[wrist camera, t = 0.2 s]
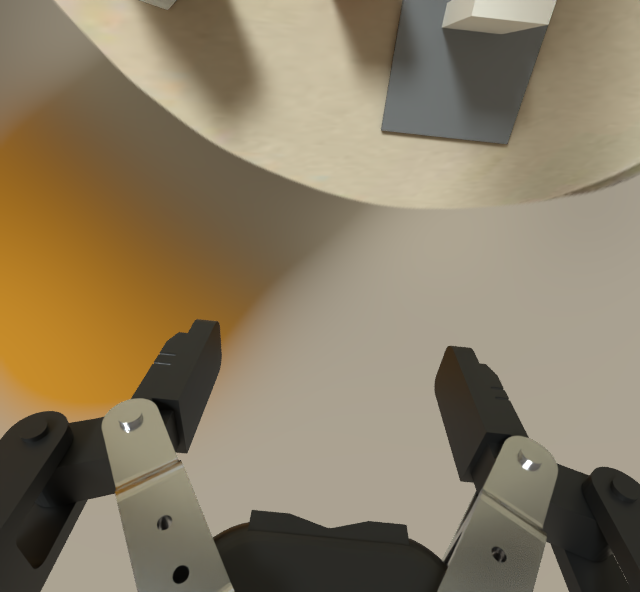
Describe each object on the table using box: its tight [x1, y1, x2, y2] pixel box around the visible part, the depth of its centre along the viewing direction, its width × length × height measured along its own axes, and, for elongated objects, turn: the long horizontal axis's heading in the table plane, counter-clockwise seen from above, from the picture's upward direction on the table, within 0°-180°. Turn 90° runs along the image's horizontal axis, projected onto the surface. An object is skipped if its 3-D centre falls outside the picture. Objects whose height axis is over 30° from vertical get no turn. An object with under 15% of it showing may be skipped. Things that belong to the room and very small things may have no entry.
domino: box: [442, 0, 557, 34], centre depth 26 cm, size 2×5×8 cm, turn 84°
